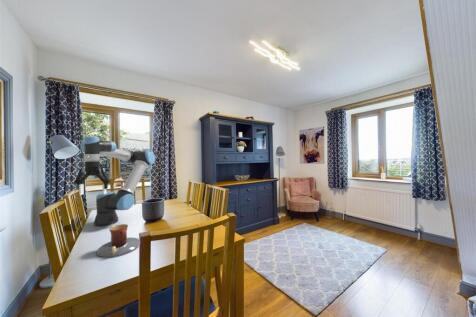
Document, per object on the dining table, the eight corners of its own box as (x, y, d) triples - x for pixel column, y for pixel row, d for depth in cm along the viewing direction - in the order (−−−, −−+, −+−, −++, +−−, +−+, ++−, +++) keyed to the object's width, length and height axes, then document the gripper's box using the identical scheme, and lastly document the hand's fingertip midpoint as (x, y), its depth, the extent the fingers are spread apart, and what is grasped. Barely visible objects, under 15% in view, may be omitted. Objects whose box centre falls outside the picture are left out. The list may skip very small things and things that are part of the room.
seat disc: (106, 242, 109) (106, 234, 109) (143, 237, 115) (143, 229, 114) (89, 260, 90) (89, 250, 90) (135, 254, 95) (135, 245, 95)
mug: (107, 246, 101) (106, 227, 101) (124, 240, 108) (123, 223, 108) (116, 253, 94) (115, 233, 94) (134, 246, 101) (133, 227, 101)
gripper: (65, 161, 111) (66, 196, 112) (109, 160, 114) (110, 194, 115) (75, 161, 119) (76, 193, 119) (116, 160, 122) (117, 192, 122)
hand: (93, 194), depth 117 cm, fingers open, 13 cm apart
